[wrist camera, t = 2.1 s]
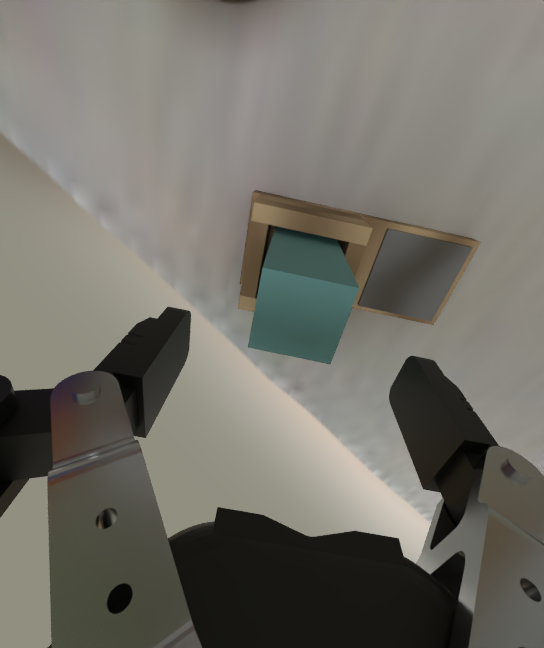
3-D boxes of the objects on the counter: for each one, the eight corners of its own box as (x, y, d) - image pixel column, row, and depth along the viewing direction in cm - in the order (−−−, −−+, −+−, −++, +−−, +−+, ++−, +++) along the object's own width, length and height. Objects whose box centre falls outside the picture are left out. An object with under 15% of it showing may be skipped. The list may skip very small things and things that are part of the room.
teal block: (333, 231, 20) (359, 288, 12) (318, 283, 22) (330, 364, 14) (277, 219, 20) (262, 267, 12) (267, 272, 22) (247, 347, 14)
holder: (472, 238, 21) (519, 260, 16) (428, 318, 24) (456, 354, 20) (255, 190, 20) (243, 199, 16) (241, 279, 24) (229, 306, 19)
